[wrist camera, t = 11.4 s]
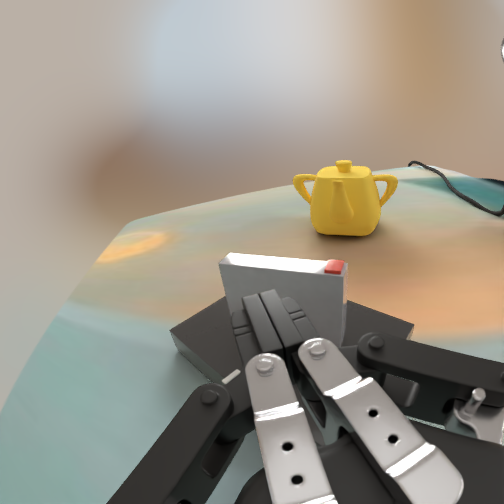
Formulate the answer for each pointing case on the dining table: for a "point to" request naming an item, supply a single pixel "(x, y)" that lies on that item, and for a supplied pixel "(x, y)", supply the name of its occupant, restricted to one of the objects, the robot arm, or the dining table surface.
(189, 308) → the dining table surface
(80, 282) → the dining table surface
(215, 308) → the hob panel
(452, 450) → the robot arm
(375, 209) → the teapot
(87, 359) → the dining table surface
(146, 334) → the dining table surface
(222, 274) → the knob
